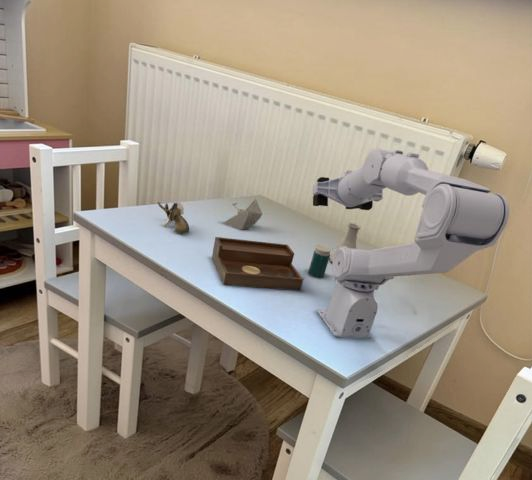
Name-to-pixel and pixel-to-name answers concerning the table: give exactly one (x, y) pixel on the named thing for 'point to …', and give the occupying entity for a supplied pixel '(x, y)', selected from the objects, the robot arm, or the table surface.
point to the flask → (348, 238)
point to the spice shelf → (255, 264)
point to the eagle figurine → (176, 217)
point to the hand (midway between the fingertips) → (330, 202)
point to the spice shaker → (319, 261)
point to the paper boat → (245, 216)
